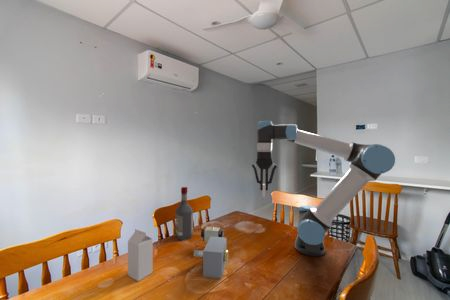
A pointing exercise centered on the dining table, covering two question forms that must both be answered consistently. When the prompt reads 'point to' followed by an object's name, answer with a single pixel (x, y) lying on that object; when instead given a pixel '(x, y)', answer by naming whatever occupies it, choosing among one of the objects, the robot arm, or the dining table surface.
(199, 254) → the pin
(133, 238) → the milk carton
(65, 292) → the dining table surface
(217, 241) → the block
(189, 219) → the liquor
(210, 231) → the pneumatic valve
